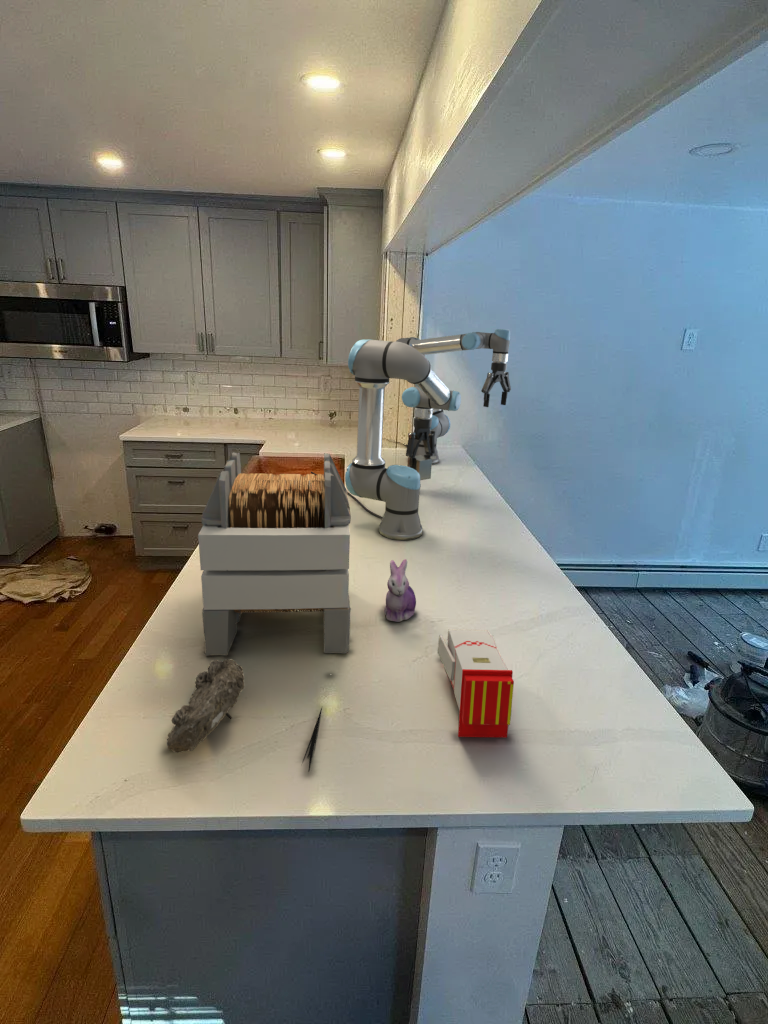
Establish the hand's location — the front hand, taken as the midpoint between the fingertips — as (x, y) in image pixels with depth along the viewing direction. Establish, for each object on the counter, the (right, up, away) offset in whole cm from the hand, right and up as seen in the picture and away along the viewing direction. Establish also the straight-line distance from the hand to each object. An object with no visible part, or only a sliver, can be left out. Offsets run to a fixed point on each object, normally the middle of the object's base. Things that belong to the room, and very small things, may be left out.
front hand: (419, 471), depth 242 cm
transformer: (-41, -44, -99) cm, 116 cm away
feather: (-27, -57, -133) cm, 148 cm away
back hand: (+41, +36, +43) cm, 69 cm away
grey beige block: (0, -3, +1) cm, 3 cm away
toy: (+3, -55, -123) cm, 135 cm away
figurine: (-11, -44, -95) cm, 105 cm away
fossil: (-48, -56, -134) cm, 153 cm away
